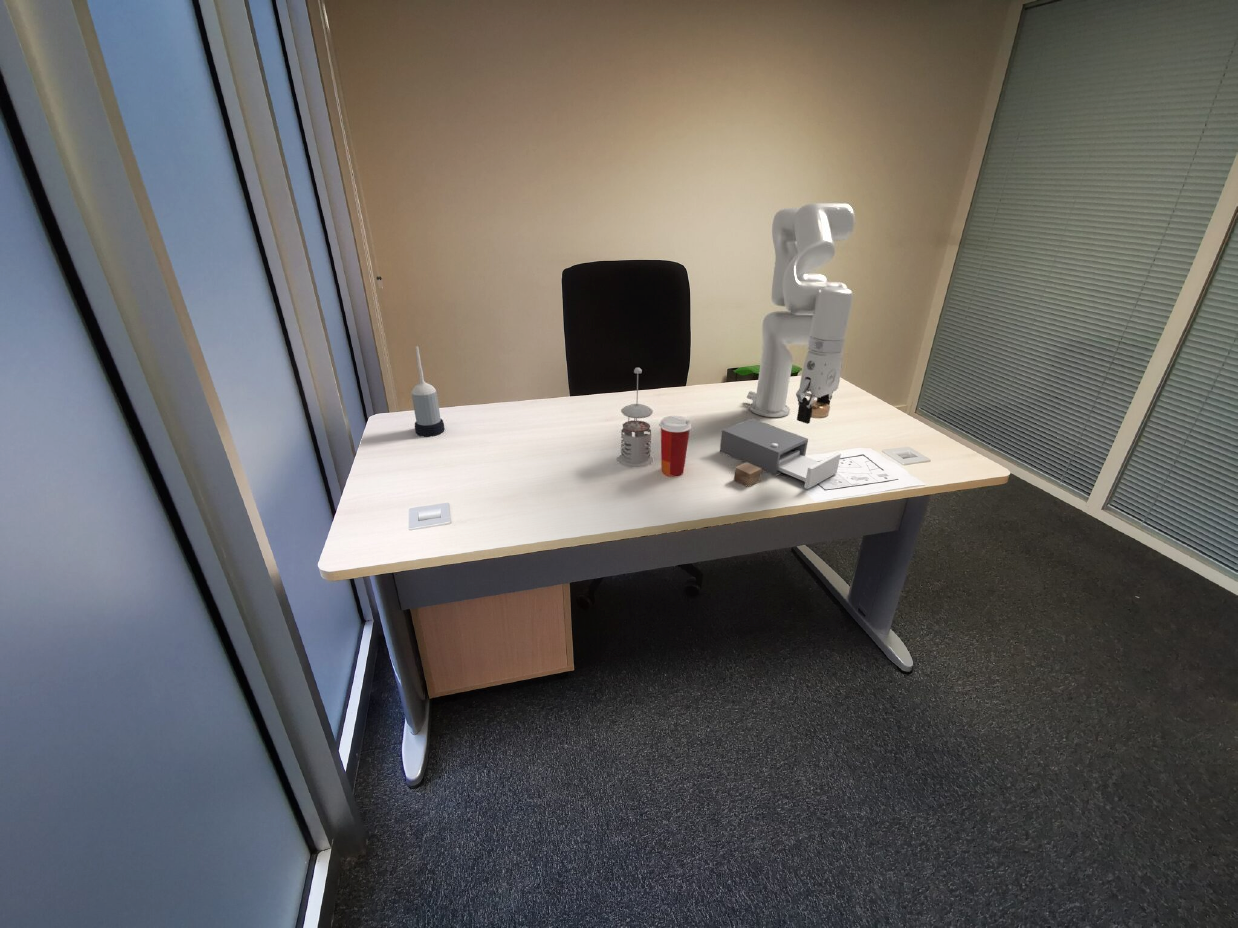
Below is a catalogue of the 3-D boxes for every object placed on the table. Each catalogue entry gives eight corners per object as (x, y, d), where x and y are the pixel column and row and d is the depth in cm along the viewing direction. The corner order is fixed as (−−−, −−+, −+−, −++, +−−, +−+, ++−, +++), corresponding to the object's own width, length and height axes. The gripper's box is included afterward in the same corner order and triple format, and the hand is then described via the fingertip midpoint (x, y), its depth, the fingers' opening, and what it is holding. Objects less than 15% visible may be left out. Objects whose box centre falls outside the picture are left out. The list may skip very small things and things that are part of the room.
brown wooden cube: (733, 479, 134) (735, 467, 132) (745, 474, 136) (746, 462, 135) (748, 486, 130) (750, 474, 129) (759, 481, 133) (761, 468, 131)
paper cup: (690, 467, 139) (694, 417, 133) (683, 481, 133) (687, 428, 126) (661, 462, 141) (663, 413, 135) (653, 475, 135) (655, 424, 129)
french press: (620, 468, 138) (621, 374, 127) (613, 449, 148) (614, 360, 137) (657, 466, 140) (662, 373, 128) (648, 447, 150) (651, 359, 138)
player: (719, 451, 148) (722, 428, 145) (749, 439, 155) (752, 417, 152) (775, 475, 136) (779, 451, 132) (804, 461, 143) (808, 437, 140)
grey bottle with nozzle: (444, 424, 163) (431, 342, 151) (445, 435, 156) (432, 349, 145) (415, 427, 161) (401, 344, 149) (415, 438, 154) (400, 352, 142)
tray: (746, 462, 141) (749, 443, 139) (776, 448, 149) (778, 431, 147) (807, 489, 129) (811, 469, 127) (836, 472, 137) (840, 453, 134)
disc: (818, 420, 125) (819, 412, 124) (792, 412, 130) (793, 404, 129) (834, 413, 129) (835, 406, 128) (808, 405, 134) (809, 397, 133)
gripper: (819, 354, 114) (805, 431, 122) (860, 342, 124) (845, 414, 132) (789, 347, 119) (777, 422, 128) (831, 336, 130) (817, 405, 138)
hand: (812, 417), depth 130 cm, fingers closed on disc, 7 cm apart
